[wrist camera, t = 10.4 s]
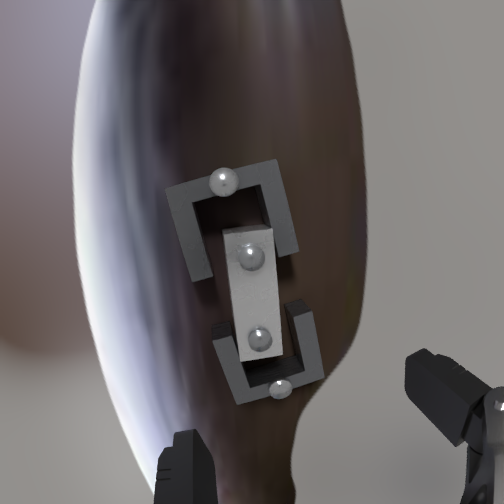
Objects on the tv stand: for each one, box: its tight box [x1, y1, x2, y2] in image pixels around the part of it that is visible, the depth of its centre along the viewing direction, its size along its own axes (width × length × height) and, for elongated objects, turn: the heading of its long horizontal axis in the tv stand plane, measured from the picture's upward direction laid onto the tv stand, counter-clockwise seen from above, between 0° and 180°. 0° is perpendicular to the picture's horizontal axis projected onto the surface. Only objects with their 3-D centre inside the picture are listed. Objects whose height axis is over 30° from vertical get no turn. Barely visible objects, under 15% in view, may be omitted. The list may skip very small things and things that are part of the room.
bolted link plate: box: [222, 224, 283, 362], centre depth 23 cm, size 10×3×4 cm, turn 6°
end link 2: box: [212, 299, 324, 405], centre depth 24 cm, size 7×8×4 cm
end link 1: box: [165, 159, 299, 282], centre depth 22 cm, size 7×8×4 cm
